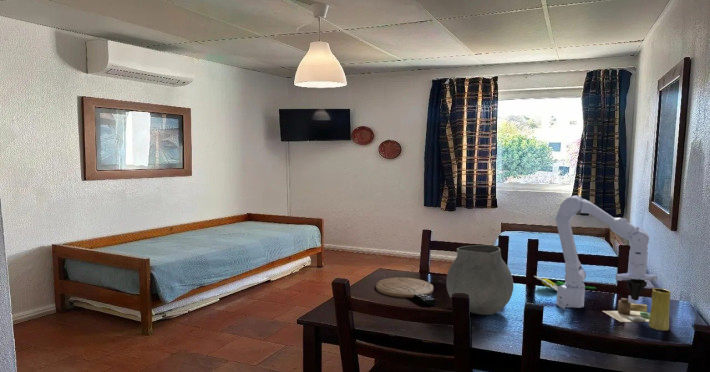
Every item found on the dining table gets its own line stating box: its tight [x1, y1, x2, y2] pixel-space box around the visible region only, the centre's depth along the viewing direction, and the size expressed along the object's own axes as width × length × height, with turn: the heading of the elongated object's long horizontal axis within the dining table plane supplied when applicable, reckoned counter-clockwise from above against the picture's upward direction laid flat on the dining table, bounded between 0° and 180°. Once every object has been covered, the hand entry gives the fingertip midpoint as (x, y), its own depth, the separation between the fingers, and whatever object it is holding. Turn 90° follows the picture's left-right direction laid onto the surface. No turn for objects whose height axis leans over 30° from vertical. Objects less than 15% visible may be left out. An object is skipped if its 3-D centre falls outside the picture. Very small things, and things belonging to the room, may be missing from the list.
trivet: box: [375, 277, 434, 299], centre depth 205 cm, size 25×25×2 cm
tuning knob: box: [617, 297, 648, 315], centre depth 175 cm, size 10×4×5 cm, turn 76°
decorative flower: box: [533, 275, 597, 292], centre depth 208 cm, size 13×5×30 cm
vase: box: [648, 287, 671, 331], centre depth 162 cm, size 6×6×14 cm
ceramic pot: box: [446, 244, 514, 316], centre depth 177 cm, size 24×24×25 cm
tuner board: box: [602, 310, 650, 323], centre depth 173 cm, size 16×11×2 cm
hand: (634, 299), depth 172 cm, fingers closed
